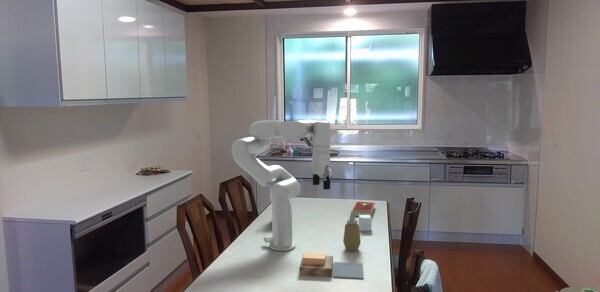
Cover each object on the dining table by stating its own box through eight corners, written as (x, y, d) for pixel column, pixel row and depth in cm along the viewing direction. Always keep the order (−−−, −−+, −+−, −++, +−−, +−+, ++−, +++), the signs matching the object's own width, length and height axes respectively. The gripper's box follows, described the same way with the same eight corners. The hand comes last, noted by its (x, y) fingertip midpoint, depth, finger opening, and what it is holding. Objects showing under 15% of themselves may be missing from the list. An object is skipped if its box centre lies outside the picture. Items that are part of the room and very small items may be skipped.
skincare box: (369, 227, 224) (369, 214, 223) (371, 231, 218) (371, 217, 217) (358, 227, 224) (358, 214, 223) (360, 231, 218) (360, 217, 217)
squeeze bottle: (347, 253, 188) (347, 215, 185) (340, 247, 195) (340, 210, 193) (363, 251, 190) (363, 213, 187) (356, 245, 197) (356, 209, 195)
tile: (302, 263, 168) (302, 257, 168) (304, 257, 174) (304, 252, 173) (324, 264, 167) (324, 258, 166) (325, 258, 173) (325, 253, 172)
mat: (332, 277, 163) (332, 276, 163) (334, 263, 177) (334, 262, 177) (363, 279, 161) (363, 277, 161) (362, 264, 175) (362, 263, 175)
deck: (299, 275, 165) (299, 267, 165) (303, 262, 178) (303, 254, 177) (331, 277, 163) (331, 268, 163) (333, 263, 176) (333, 255, 176)
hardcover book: (351, 216, 246) (351, 209, 246) (356, 207, 266) (356, 201, 266) (371, 218, 243) (371, 211, 242) (374, 208, 263) (375, 202, 262)
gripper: (305, 147, 187) (305, 184, 189) (323, 151, 171) (323, 191, 173) (319, 146, 190) (319, 182, 192) (339, 150, 175) (338, 190, 177)
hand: (321, 186), depth 183 cm, fingers open, 9 cm apart
